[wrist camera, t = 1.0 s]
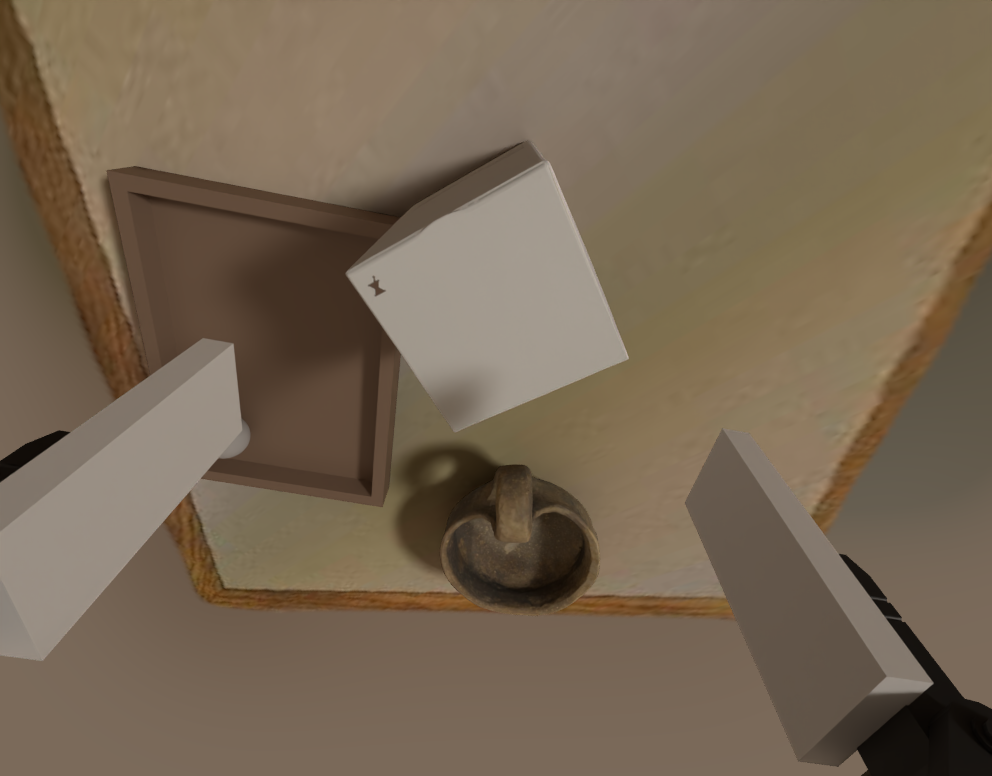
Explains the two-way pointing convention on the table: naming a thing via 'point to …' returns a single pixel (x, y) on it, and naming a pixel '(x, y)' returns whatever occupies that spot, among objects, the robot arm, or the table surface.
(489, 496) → the bowl
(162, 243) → the tray
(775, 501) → the robot arm
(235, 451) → the ball
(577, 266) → the supplement box
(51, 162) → the table surface
